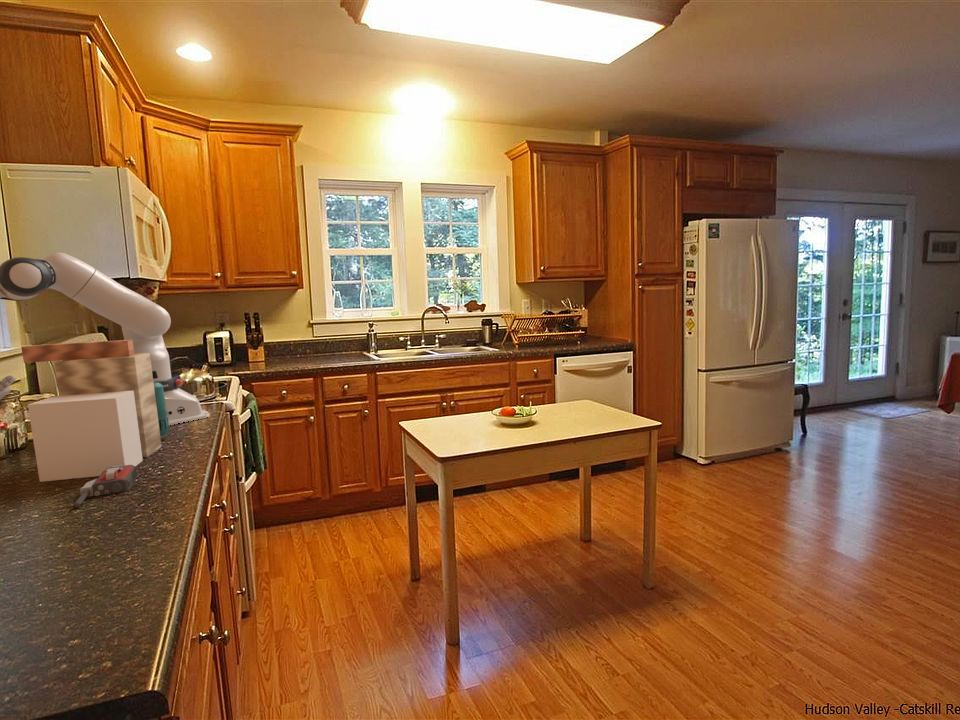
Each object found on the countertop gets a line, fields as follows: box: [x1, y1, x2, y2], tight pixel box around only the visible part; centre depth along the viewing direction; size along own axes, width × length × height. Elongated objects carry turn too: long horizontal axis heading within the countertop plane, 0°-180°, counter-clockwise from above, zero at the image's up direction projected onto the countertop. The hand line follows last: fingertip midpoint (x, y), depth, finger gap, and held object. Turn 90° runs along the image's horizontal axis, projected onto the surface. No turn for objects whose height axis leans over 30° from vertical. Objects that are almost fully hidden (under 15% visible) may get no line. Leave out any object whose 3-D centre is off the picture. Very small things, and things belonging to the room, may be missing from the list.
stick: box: [20, 339, 134, 364], centre depth 143 cm, size 24×3×4 cm, turn 101°
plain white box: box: [27, 391, 144, 483], centre depth 134 cm, size 18×10×18 cm, turn 101°
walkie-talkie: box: [73, 465, 138, 507], centre depth 120 cm, size 9×4×20 cm
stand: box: [53, 353, 162, 459], centre depth 146 cm, size 18×10×26 cm, turn 101°
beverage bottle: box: [152, 371, 170, 437], centre depth 161 cm, size 6×7×20 cm
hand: (0, 380), depth 141 cm, fingers open, 8 cm apart
